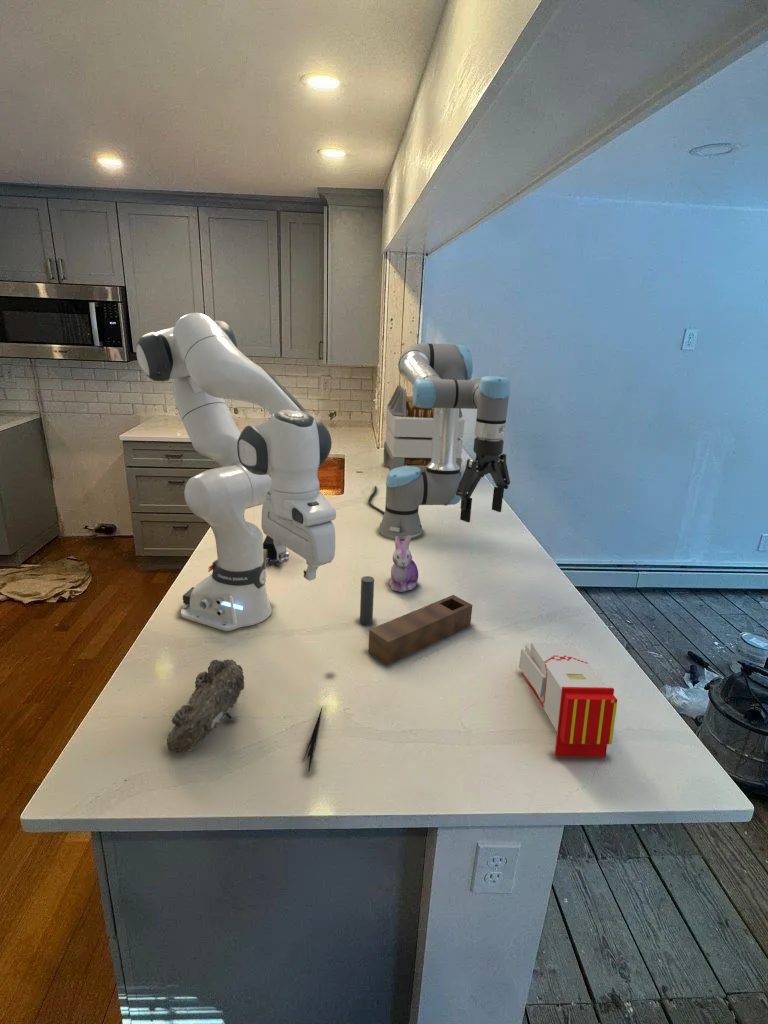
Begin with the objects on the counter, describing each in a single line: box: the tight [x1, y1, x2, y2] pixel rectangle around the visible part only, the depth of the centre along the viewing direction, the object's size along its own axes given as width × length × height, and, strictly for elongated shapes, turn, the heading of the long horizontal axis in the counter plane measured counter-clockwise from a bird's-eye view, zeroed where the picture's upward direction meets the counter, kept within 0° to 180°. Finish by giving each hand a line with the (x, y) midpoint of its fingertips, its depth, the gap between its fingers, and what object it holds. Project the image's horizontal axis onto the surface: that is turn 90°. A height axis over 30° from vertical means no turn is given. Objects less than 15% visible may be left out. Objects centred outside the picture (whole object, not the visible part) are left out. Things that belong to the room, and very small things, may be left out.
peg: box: [359, 575, 375, 626], centre depth 141 cm, size 3×3×12 cm
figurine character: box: [263, 535, 280, 566], centre depth 175 cm, size 7×8×15 cm
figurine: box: [389, 535, 419, 593], centre depth 160 cm, size 9×10×15 cm
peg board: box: [368, 594, 474, 666], centre depth 136 cm, size 28×7×6 cm, turn 131°
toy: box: [518, 642, 618, 758], centre depth 113 cm, size 12×13×30 cm
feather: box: [301, 673, 332, 771], centre depth 108 cm, size 2×28×2 cm
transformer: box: [383, 384, 465, 472], centre depth 268 cm, size 34×33×41 cm
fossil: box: [166, 658, 245, 754], centre depth 106 cm, size 22×10×15 cm
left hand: (296, 569), depth 108 cm, fingers open, 8 cm apart
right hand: (481, 515), depth 153 cm, fingers open, 13 cm apart
